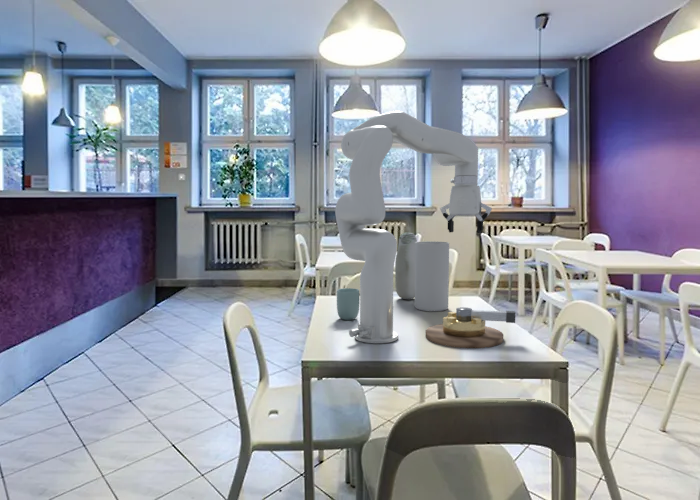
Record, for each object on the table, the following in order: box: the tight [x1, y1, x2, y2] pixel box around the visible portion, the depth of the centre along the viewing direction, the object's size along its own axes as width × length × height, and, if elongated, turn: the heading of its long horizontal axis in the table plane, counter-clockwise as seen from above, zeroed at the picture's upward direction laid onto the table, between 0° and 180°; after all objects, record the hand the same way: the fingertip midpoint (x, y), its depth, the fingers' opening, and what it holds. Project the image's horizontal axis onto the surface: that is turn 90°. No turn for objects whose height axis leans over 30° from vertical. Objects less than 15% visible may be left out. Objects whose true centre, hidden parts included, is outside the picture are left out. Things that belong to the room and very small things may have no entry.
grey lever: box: [442, 306, 516, 337], centre depth 136 cm, size 20×12×7 cm, turn 76°
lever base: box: [425, 323, 504, 349], centre depth 137 cm, size 22×22×2 cm
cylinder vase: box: [414, 241, 450, 312], centre depth 177 cm, size 12×12×25 cm
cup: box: [336, 287, 360, 321], centre depth 161 cm, size 8×8×10 cm
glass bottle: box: [394, 231, 418, 300], centre depth 196 cm, size 10×10×28 cm
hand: (464, 232), depth 160 cm, fingers open, 9 cm apart
